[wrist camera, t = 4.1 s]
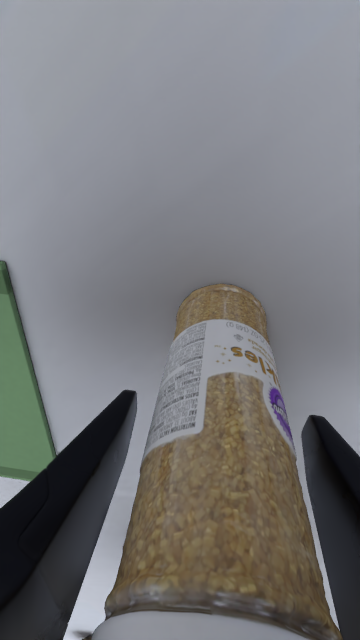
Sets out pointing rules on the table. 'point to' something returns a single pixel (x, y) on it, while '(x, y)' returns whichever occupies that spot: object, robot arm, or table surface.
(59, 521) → the robot arm
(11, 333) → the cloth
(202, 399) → the sprinkles bottle
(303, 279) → the table surface
